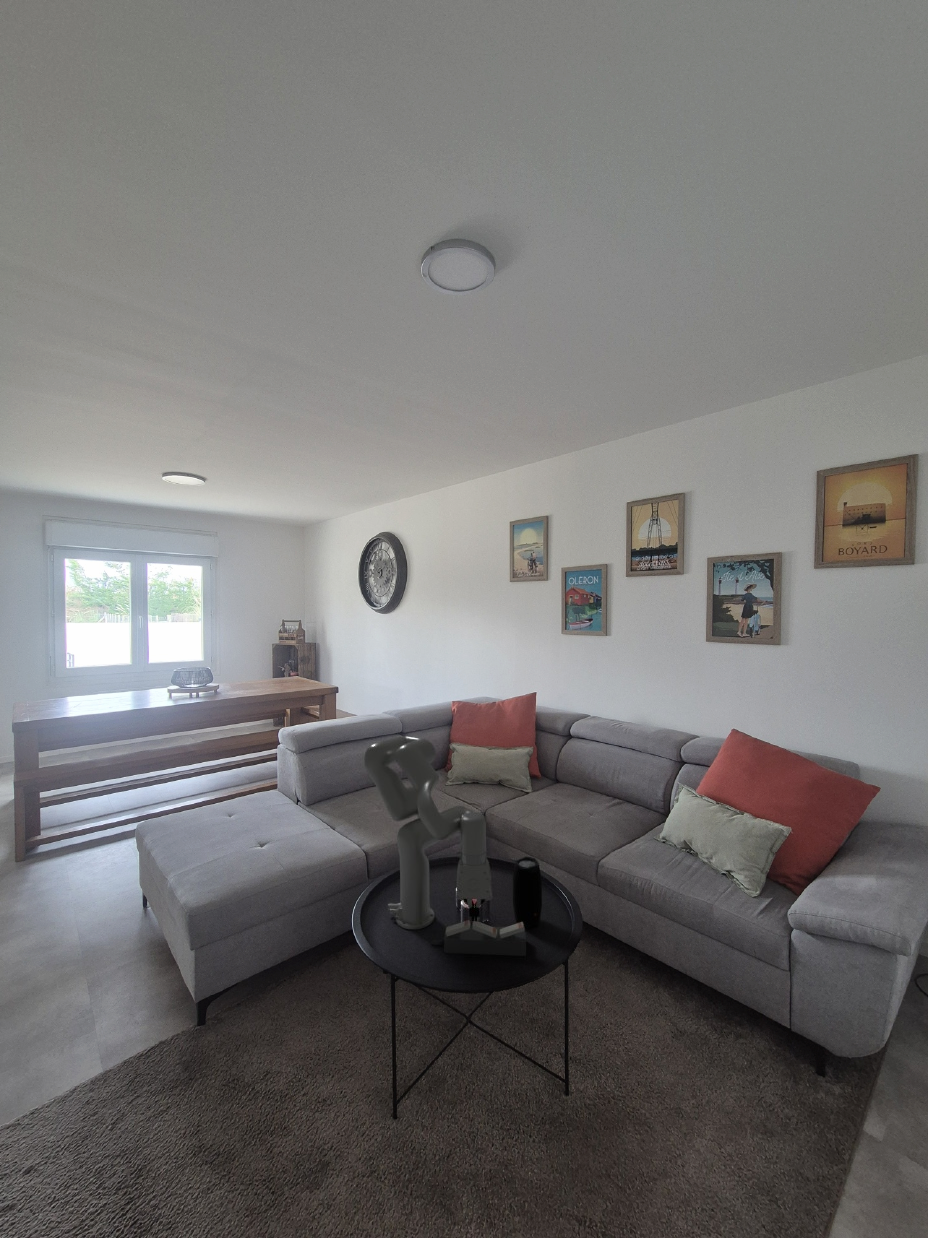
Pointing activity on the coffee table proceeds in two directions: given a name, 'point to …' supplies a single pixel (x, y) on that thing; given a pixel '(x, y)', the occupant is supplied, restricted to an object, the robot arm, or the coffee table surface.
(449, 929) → the rocker
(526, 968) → the coffee table surface
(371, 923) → the coffee table surface
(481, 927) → the rocker
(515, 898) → the portable speaker
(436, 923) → the coffee table surface
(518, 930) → the rocker
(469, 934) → the rocker switch box
